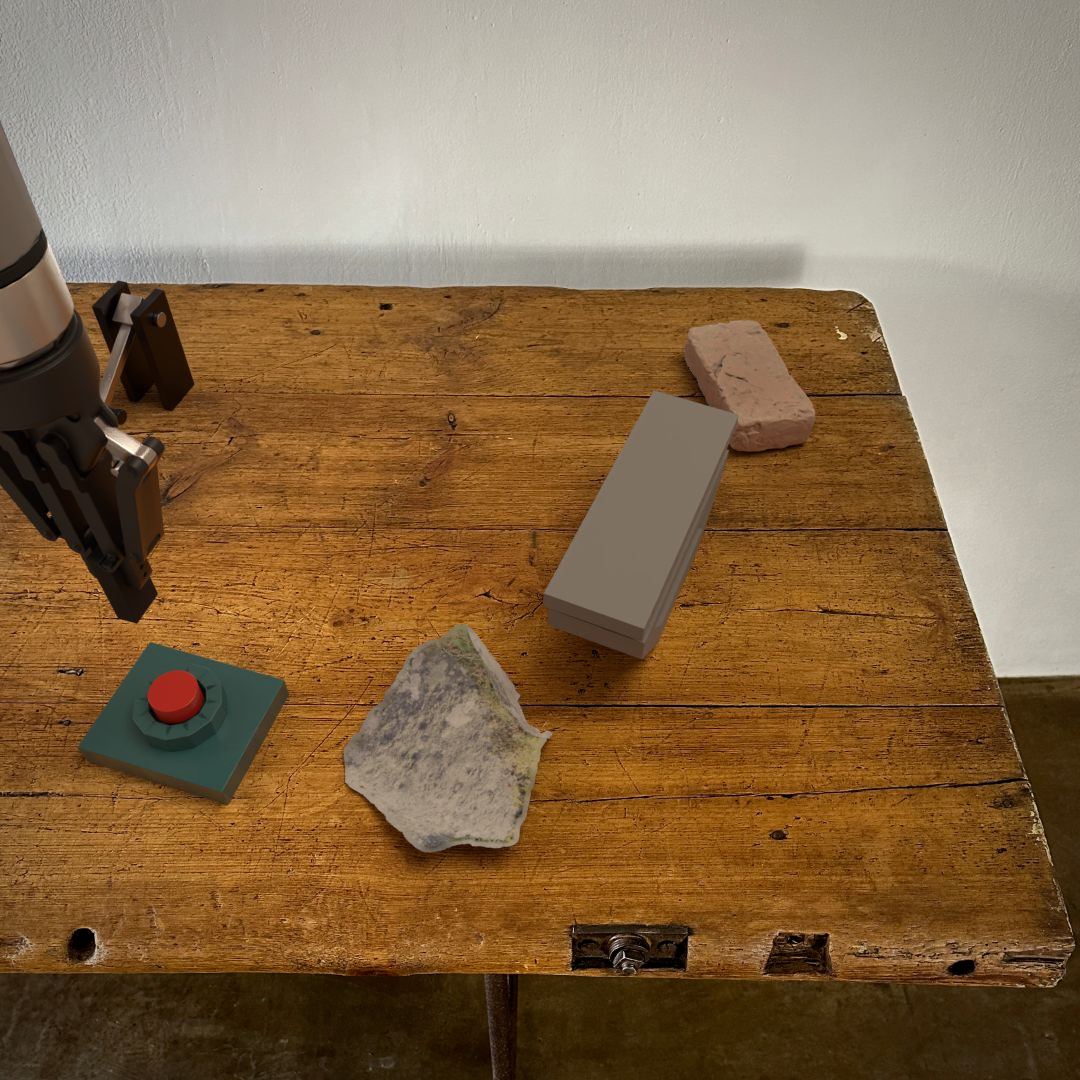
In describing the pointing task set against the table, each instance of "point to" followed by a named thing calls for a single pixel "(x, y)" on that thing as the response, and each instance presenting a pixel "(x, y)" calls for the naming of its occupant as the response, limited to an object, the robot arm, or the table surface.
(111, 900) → the table surface
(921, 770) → the table surface
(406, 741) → the rock fragment
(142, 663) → the control block
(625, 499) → the sharpening stone
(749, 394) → the brick
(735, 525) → the table surface
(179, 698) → the button
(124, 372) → the bracket
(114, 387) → the lever
